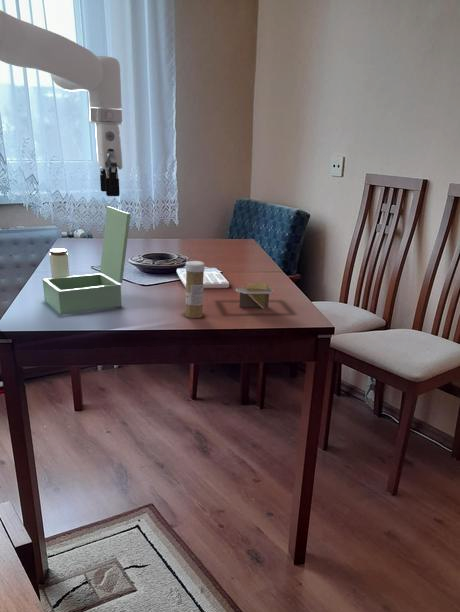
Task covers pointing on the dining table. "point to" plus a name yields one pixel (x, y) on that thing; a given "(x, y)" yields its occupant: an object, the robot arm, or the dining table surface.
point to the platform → (254, 295)
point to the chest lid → (115, 243)
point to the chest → (82, 293)
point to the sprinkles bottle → (194, 289)
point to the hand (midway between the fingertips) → (110, 193)
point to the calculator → (207, 278)
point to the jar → (59, 263)
